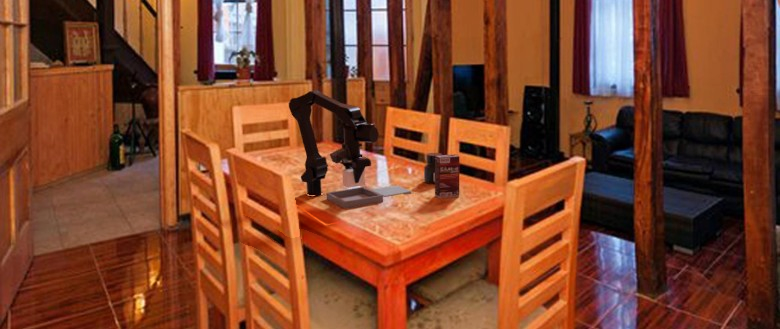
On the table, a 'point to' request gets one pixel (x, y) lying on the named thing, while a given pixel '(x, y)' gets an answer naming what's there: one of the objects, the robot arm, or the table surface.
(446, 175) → the supplement box
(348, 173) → the block
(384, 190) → the mat
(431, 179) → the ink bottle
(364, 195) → the grey square tray
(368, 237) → the table surface
